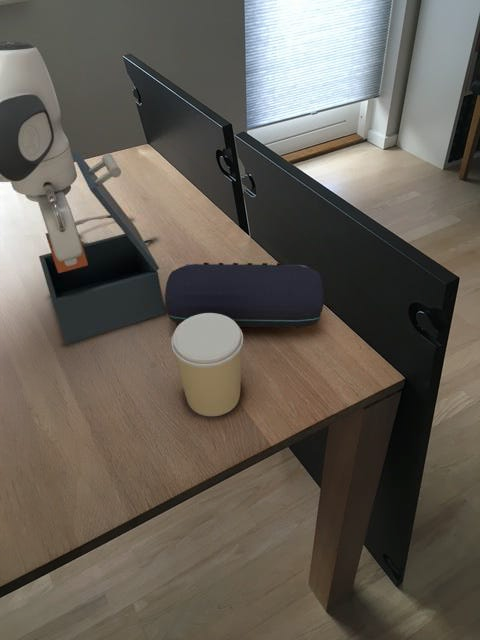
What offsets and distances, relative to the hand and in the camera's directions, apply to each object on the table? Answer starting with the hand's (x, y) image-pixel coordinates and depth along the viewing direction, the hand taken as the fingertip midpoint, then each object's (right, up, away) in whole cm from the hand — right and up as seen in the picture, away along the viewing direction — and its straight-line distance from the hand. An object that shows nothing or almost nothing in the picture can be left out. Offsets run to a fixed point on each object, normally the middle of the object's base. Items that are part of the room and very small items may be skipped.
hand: (67, 252), depth 83 cm
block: (0, -1, +1) cm, 2 cm away
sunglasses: (0, +5, +25) cm, 26 cm away
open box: (+4, -8, +10) cm, 14 cm away
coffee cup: (+23, -21, -6) cm, 32 cm away
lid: (+7, +6, 0) cm, 10 cm away
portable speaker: (+28, -10, +6) cm, 30 cm away
